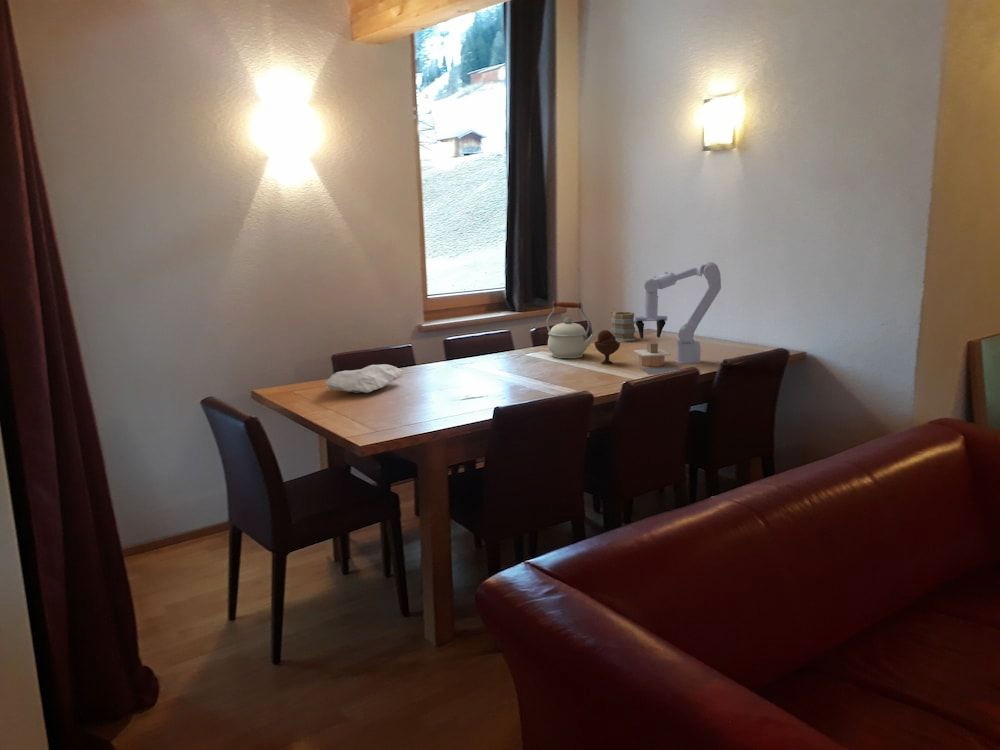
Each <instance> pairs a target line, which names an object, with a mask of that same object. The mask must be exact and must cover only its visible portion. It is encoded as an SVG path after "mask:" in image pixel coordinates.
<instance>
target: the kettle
mask: <svg viewBox="0 0 1000 750" xmlns="http://www.w3.org/2000/svg"><path fill="white" fill-rule="evenodd" d="M583 304H584V303H583V302H578V303H577V302H572V301H571V302H570V301H556V300H555V301H552V311H551V312H550V313H549V314H548V316H547V317H546V321H545V323H546V325H545V326H546V328H547V330H548V331H547V332H548V333H547V335H548V339H547V348H548V350H549V352H551V356H552V357H553V356H554V357H553V358H556V357H558V358H557V359H562V358H573V359H580V358H582V357H584V353H585V352H586V351H587V348H588V347H590V345H592V342H593V341H594V339H595V337H596V334H595V333H591V334H590V336H588V333H589V331H590V327H591V324H590V323H591V322H590V320H589V318H588V316H586V314H585V312H584V311H583V310H584V308H583V307H584V305H583ZM557 307H559V308H564V309H565V308H568V309H569V308H570V309H577V308H578V309H580V312H581V315H582V316H583V317H584V318H585V320H586V322H587V329H586V330H585V328H584V326H582V325H581V324H580V323H575V322H572V321H573V320H572V318H570V317H568V316H567V317H565V318H563V322H561V323H556V324H555V325H554V326H552V327H551V328H550V325H549V319H550V318H551V315H552V314H553V313H554V312H555V308H557ZM579 357H580V358H579Z"/></svg>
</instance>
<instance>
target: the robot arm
mask: <svg viewBox="0 0 1000 750" xmlns="http://www.w3.org/2000/svg"><path fill="white" fill-rule="evenodd" d="M693 276H699V277H703V276H704V278H705V279H706V280H707V281H706V282H707V284H708V288H707V290H706V291H705V292H704V295H703V296H702V297H701V299H700V301H699V303H698V304H697V305H696V307H695V309H694V310H693V312H692V314H691V315H690V317H689V318H688V320H687V321H686V322H685V323H684V324H683V325H682V326H681V327H680V328H679V331H678V339H677V343H676V344H677V345H676V346H677V349H676V359H674V358H673V361H675V362H677V363H679V364H692V363H693V364H694V363H701V347H702V346H701V343H700V342H699V341H695V339H694V335H695V332H696V330H697V328H698V326H699V325H700V323H701V321H702V319H704V317H705V315H706V314H707V312H708V310H709V308H710V307H711V305H712V303H714V300H716V299H715V298H716V297H717V295H718V294H719V293H720V291H721V290H722V283H721V282H722V280H721V279H722V278H721V271H720V268H719V266H718V265H717V264H716V263H715V262H713V261H711V262H707V263H701V264H698V265H697V264H696V265H695V266H691V267H689V268H686V269H683V270H680V271H677V272H675V273H673V272H671V271H665V272H664V274H661V275H658V276H657V275H654V276H653V278H648V279H647V280H646V281H645V283H644V285H643V286H644V302H643V303H644V306H643V307H644V308H643V315H641V316H640V315H639V316H634V322H635V323H634V324H635V325H636V326H637V327H636V328H637V329H638V333H639V338H640V339H644V329H645V322H656V338H658V339H659V338H661V335H662V332H663V328H664V327H665V325H666V324H667V321H668V316H667V315H658V309H659V307H658V306H659V304H658V303H659V301H658V300H659V296H658V292H659V291H658V290H663V289H667V288H669V287H671V286H675V285H676V283H677V281H681V280H683V279H687V278H690V277H693Z"/></svg>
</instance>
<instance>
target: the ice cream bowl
mask: <svg viewBox="0 0 1000 750" xmlns="http://www.w3.org/2000/svg"><path fill="white" fill-rule="evenodd" d="M594 346H595V349H596V350H597V351H598V352H599V353H601V354H602V355H604V360H602V361H601V362H600V365H601V364H602V365H612V364H614V362H612V361H611V360H610V355H613V354H614V353H615V352H617V351H618V350H619V349H620V346H621V342H618V341H616V338H615V336H613V335H612V332H611V330H610V331H609V329H607V330H606V329H603V330H601V331H600V332H599V333H598V334H597V341H595V342H594Z"/></svg>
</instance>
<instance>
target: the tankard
mask: <svg viewBox="0 0 1000 750" xmlns="http://www.w3.org/2000/svg"><path fill="white" fill-rule="evenodd" d="M609 312H610V314H612V317H611V318H610V323H611V328H610V332H611V333H612V335H613V336H615V338H616V341H622V342H621V343H623V342H624V343H628V342H627V341H633V342H635V340H636V341H637V336H635V333H636V327H635V324H636V323H635V322H634V317H635V313H634V312H630V311H616V310H615V308H611V309H610V310H609Z"/></svg>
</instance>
